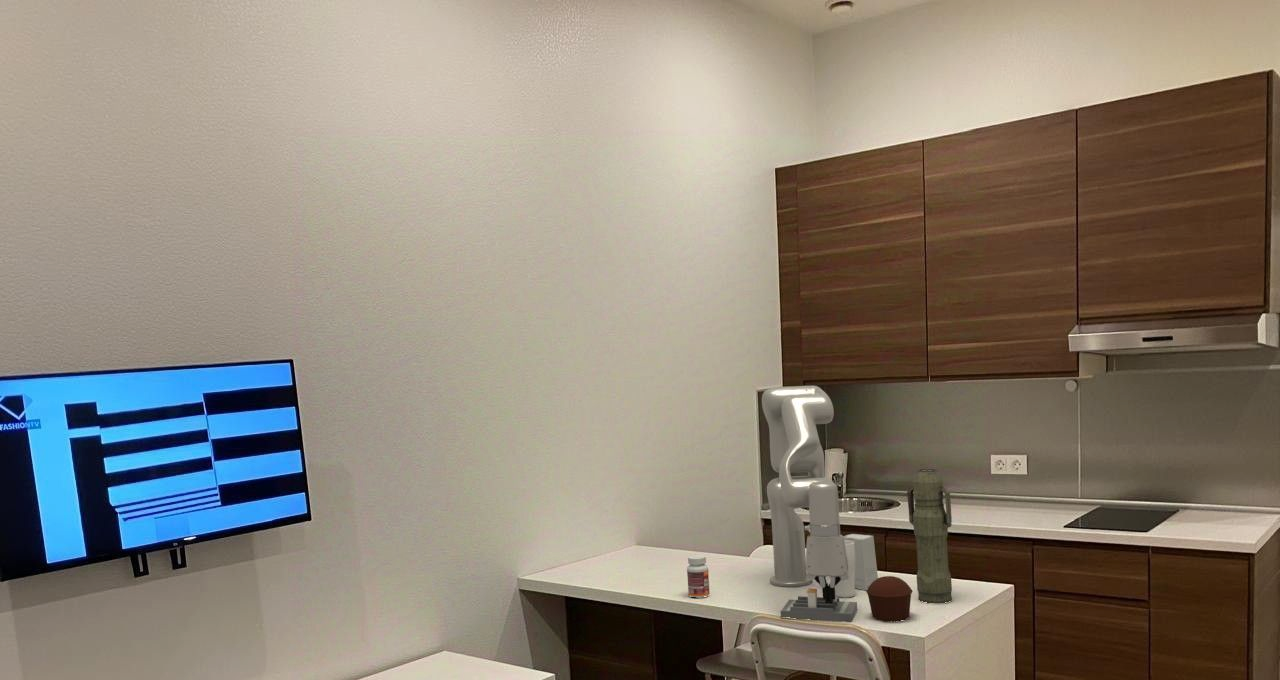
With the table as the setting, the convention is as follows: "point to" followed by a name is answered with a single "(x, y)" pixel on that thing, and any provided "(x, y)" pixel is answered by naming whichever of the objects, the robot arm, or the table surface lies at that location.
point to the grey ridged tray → (820, 609)
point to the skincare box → (864, 560)
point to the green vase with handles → (931, 535)
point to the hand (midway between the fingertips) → (829, 602)
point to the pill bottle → (697, 576)
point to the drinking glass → (848, 586)
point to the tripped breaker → (812, 597)
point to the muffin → (889, 599)
